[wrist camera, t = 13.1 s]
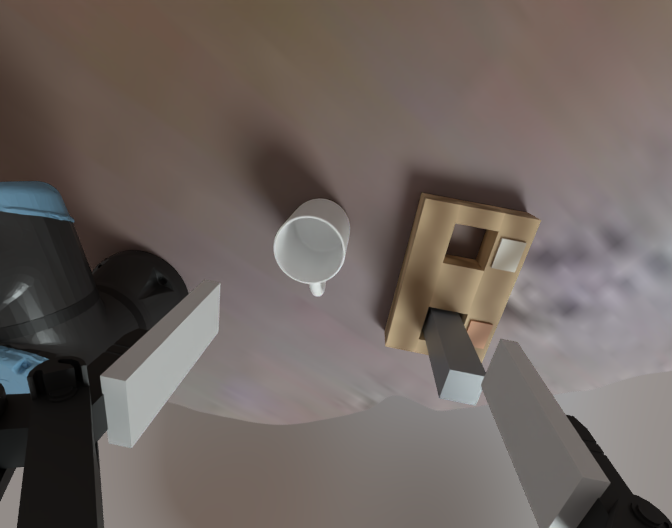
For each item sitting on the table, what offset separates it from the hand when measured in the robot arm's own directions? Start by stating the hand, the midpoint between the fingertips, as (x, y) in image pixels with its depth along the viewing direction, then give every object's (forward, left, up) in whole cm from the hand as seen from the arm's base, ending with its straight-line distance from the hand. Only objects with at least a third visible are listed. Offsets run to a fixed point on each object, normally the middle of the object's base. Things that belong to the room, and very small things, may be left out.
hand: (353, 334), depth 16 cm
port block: (+14, -9, -33) cm, 37 cm away
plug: (+14, -15, -33) cm, 39 cm away
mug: (-5, -7, -33) cm, 34 cm away
